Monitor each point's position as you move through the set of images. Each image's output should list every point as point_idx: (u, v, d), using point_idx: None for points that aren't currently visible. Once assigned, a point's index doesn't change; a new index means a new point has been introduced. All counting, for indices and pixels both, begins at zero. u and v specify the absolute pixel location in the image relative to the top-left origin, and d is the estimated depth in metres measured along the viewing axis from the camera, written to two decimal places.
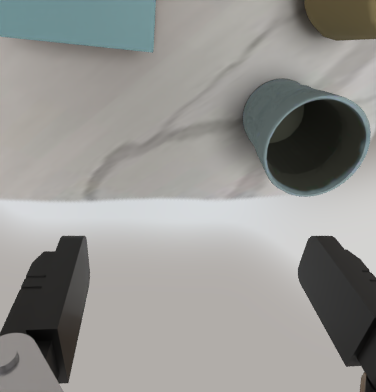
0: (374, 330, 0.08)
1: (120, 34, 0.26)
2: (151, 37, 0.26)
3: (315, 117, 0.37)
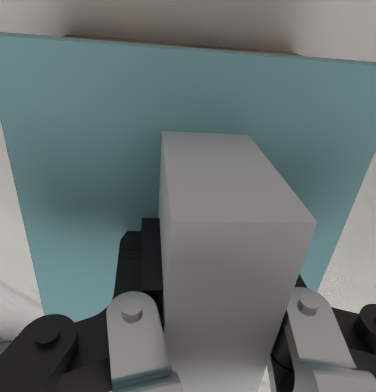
0: None
1: (66, 295, 0.14)
2: None
3: None
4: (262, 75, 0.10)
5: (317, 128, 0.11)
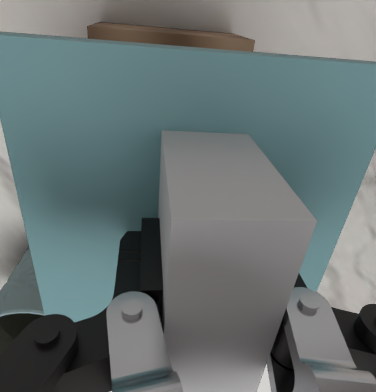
0: None
1: (66, 295, 0.14)
2: None
3: None
4: (261, 74, 0.10)
5: (317, 127, 0.11)
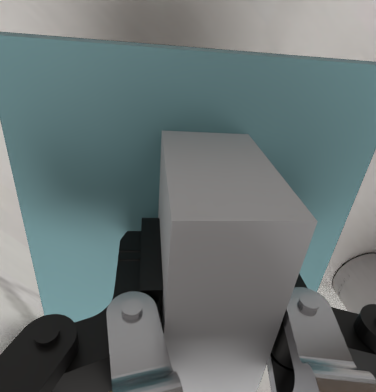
0: None
1: (66, 295, 0.14)
2: None
3: None
4: (261, 74, 0.10)
5: (317, 128, 0.11)
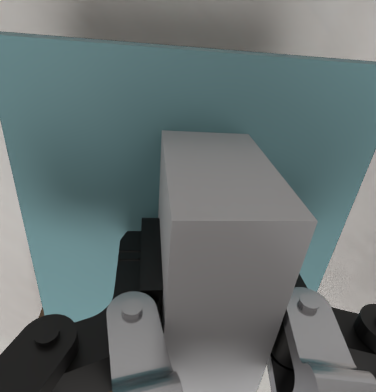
0: None
1: (66, 295, 0.14)
2: None
3: None
4: (262, 74, 0.10)
5: (317, 128, 0.11)
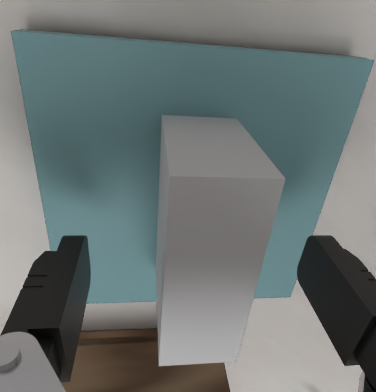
0: (372, 330, 0.08)
1: None
2: None
3: None
4: (247, 66, 0.12)
5: (296, 113, 0.13)
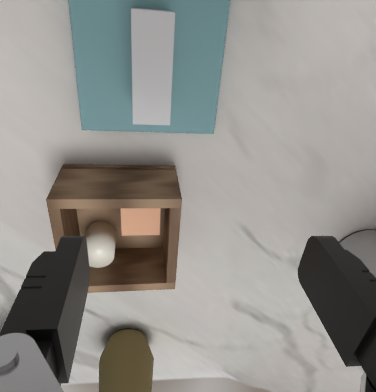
0: (374, 330, 0.08)
1: (91, 101, 0.29)
2: (93, 128, 0.30)
3: None
4: None
5: (199, 8, 0.26)
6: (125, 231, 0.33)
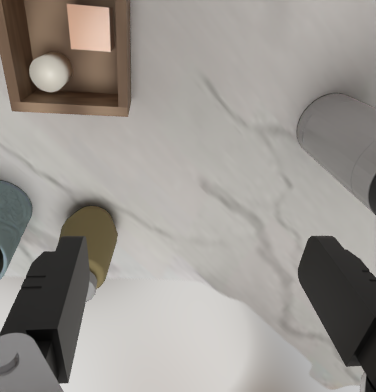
0: (374, 331, 0.08)
1: None
2: None
3: None
4: None
5: None
6: (74, 44, 0.32)
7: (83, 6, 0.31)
